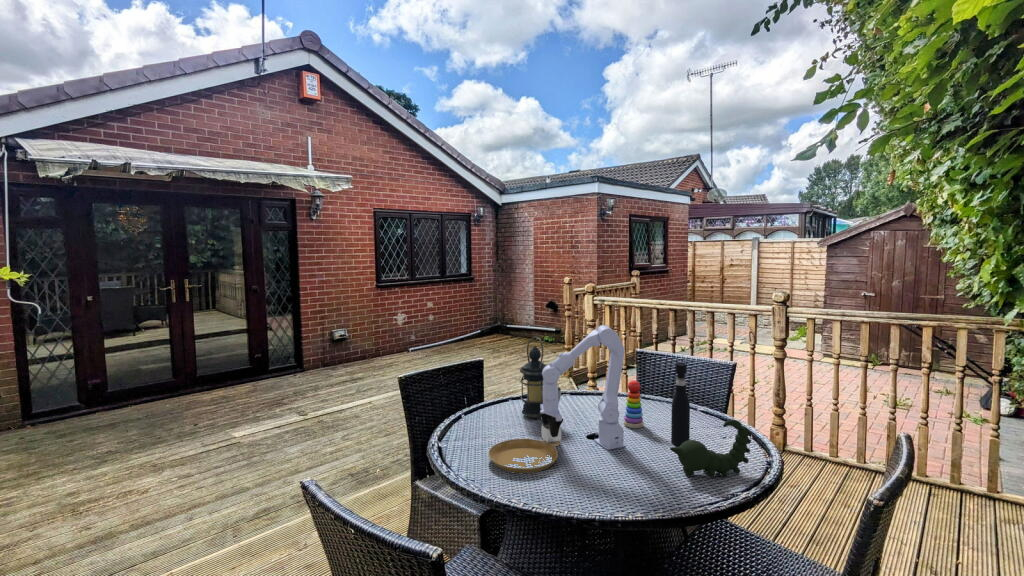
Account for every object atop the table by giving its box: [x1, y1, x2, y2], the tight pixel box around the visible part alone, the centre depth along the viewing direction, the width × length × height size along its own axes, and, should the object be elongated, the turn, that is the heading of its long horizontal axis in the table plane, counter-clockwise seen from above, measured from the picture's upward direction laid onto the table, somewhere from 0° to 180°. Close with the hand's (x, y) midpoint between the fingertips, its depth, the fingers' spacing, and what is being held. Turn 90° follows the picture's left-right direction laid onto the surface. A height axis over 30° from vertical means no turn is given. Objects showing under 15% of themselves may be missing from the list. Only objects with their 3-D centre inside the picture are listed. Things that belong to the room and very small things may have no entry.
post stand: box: [541, 438, 561, 448], centre depth 178 cm, size 7×7×6 cm
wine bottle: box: [670, 362, 691, 447], centre depth 175 cm, size 6×6×30 cm
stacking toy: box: [623, 380, 645, 429], centre depth 194 cm, size 8×8×19 cm
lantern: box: [519, 336, 548, 419], centre depth 207 cm, size 14×13×35 cm
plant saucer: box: [487, 438, 559, 474], centre depth 164 cm, size 24×24×3 cm
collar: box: [541, 423, 562, 443], centre depth 177 cm, size 6×6×5 cm
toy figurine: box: [669, 419, 752, 479], centre depth 151 cm, size 9×19×25 cm
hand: (551, 433), depth 177 cm, fingers open, 6 cm apart
